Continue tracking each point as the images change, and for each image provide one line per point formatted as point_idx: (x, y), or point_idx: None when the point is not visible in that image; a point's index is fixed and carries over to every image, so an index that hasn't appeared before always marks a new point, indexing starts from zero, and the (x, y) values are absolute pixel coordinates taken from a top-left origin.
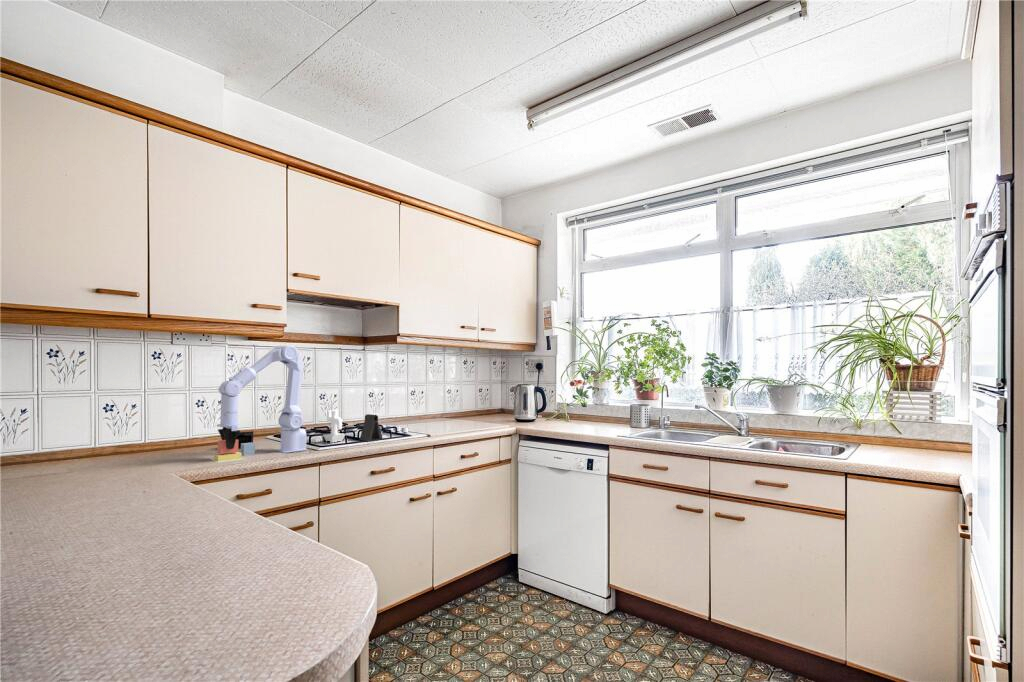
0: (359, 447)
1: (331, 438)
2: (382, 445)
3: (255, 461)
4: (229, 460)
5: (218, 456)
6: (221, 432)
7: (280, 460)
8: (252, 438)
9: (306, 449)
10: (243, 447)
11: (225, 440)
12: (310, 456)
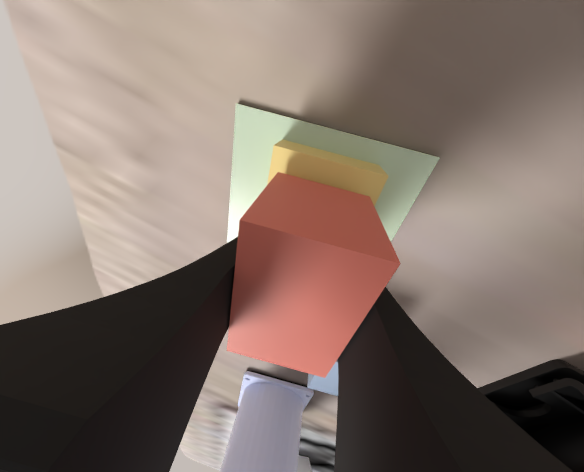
0: (191, 432)
1: None
2: (182, 444)
3: (155, 252)
4: (253, 197)
5: (275, 145)
6: (423, 444)
7: None
8: None
9: (238, 405)
10: None
11: (311, 304)
12: None
